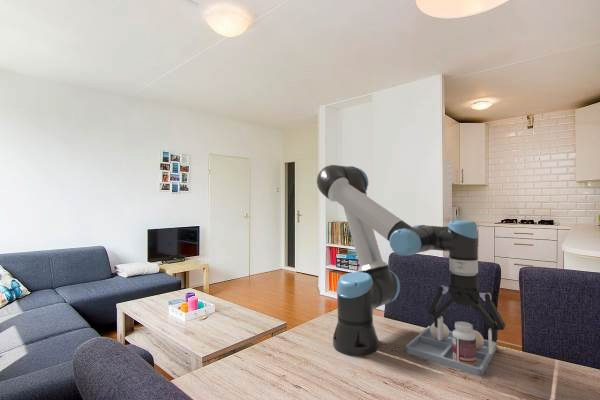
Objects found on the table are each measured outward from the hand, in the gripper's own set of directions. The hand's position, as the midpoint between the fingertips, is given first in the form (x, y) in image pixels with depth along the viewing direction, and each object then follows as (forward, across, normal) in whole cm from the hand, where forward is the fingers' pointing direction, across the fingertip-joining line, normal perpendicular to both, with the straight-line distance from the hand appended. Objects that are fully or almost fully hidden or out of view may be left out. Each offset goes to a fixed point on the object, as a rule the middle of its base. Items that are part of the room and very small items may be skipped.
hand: (464, 345), depth 93 cm
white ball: (+5, -10, +10) cm, 15 cm away
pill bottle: (+5, 0, 0) cm, 5 cm away
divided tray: (+6, -5, +5) cm, 9 cm away
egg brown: (+5, 0, +10) cm, 11 cm away
